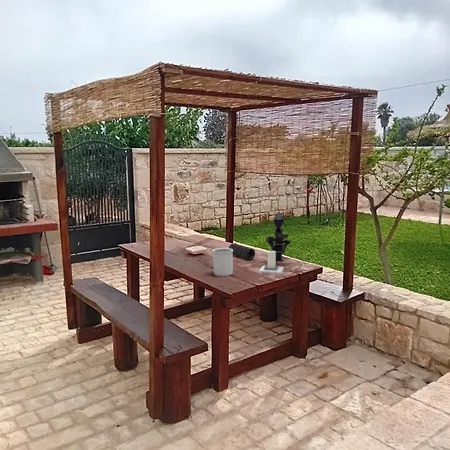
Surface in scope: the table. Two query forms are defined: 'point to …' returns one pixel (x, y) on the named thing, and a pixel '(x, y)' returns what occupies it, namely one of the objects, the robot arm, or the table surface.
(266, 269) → the dock plate
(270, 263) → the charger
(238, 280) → the table surface
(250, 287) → the table surface
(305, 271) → the table surface
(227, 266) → the utensil holder
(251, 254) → the muzzle brake
